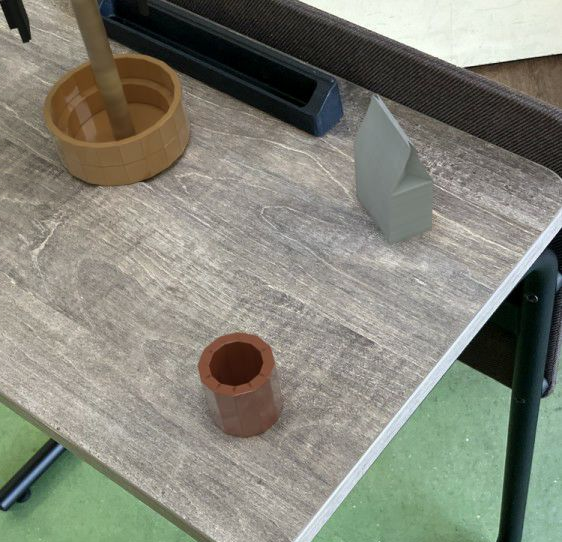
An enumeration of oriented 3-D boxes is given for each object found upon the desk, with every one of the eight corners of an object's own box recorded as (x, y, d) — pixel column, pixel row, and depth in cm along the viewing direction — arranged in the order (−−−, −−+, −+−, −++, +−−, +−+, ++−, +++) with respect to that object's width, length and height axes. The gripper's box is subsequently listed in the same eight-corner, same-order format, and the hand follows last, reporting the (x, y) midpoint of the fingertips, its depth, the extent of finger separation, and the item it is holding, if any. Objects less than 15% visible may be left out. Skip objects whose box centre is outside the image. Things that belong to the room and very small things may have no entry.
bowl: (38, 179, 86) (20, 137, 82) (91, 90, 92) (77, 47, 88) (163, 198, 83) (151, 155, 79) (209, 105, 89) (199, 61, 85)
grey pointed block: (390, 249, 77) (389, 157, 69) (356, 195, 81) (351, 101, 73) (431, 233, 78) (435, 140, 69) (395, 180, 81) (395, 86, 73)
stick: (111, 143, 87) (60, -14, 74) (120, 128, 88) (70, -29, 75) (131, 146, 86) (83, -11, 73) (140, 131, 87) (93, -27, 74)
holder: (202, 432, 69) (187, 387, 64) (225, 374, 72) (212, 326, 67) (270, 446, 68) (260, 401, 63) (291, 387, 71) (283, 339, 66)
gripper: (136, -258, 65) (181, -31, 79) (-114, -204, 64) (-23, 15, 79) (152, -208, 61) (197, 22, 75) (-115, -150, 60) (-19, 72, 74)
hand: (85, 19), depth 77 cm, fingers open, 9 cm apart
